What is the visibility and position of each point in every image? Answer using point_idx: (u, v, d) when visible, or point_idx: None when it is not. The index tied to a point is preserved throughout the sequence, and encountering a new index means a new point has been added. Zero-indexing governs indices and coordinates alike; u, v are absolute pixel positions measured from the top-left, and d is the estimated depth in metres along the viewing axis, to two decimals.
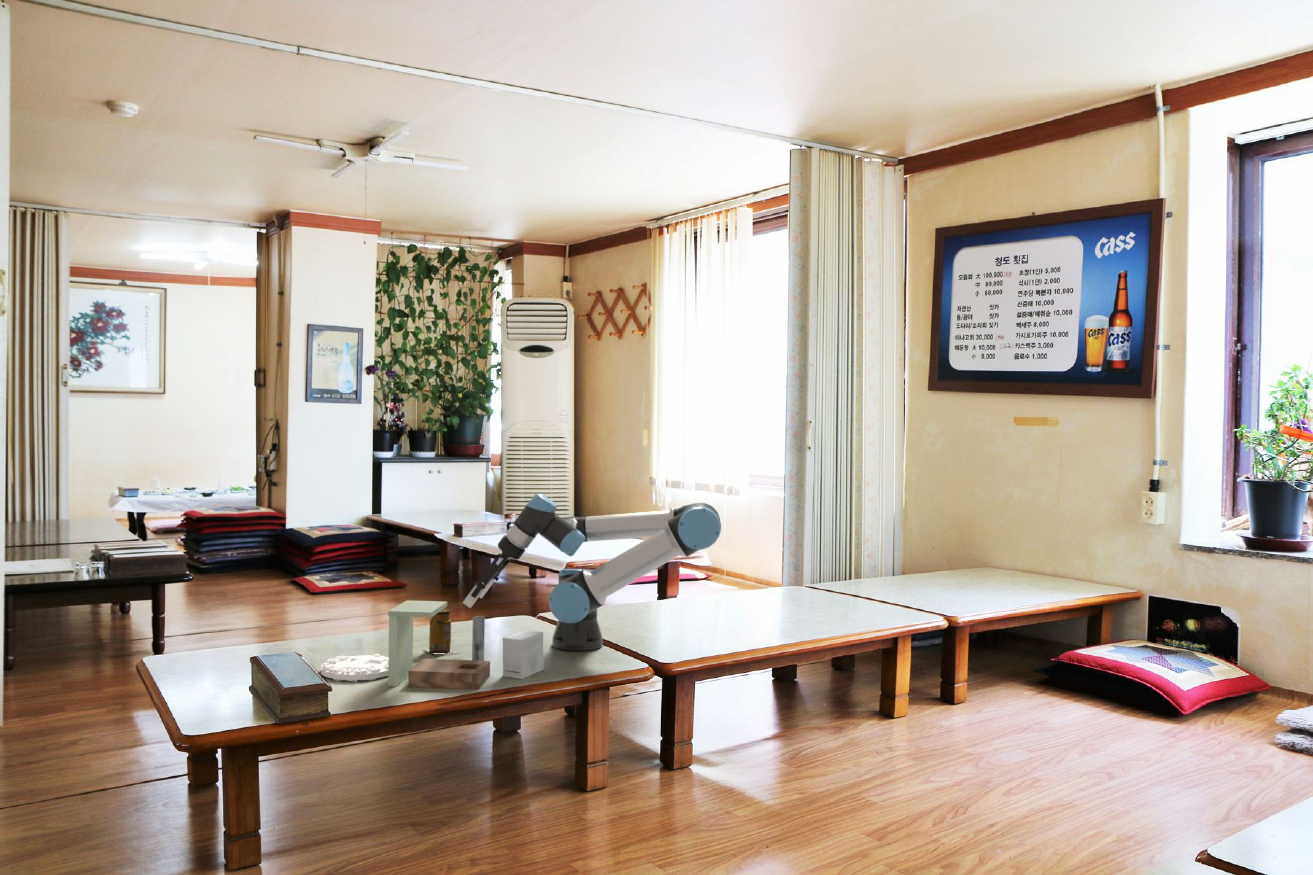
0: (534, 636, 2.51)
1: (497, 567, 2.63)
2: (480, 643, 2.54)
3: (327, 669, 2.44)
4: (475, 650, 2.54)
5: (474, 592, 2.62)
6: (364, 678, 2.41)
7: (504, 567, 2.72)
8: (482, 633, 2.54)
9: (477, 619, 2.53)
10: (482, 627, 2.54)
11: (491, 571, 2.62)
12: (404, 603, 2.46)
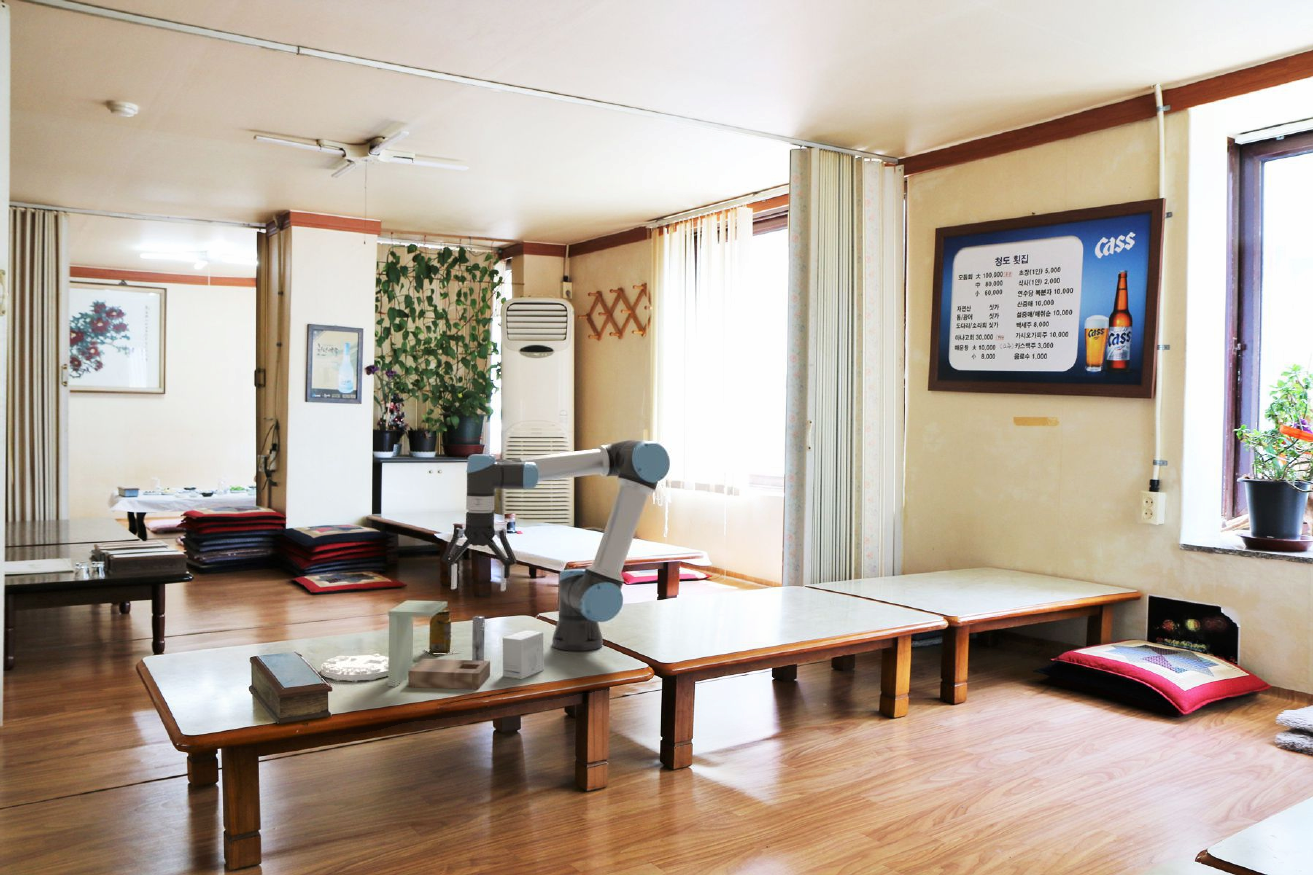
0: (534, 636, 2.51)
1: (506, 538, 2.55)
2: (480, 643, 2.54)
3: (327, 669, 2.44)
4: (475, 650, 2.54)
5: (508, 573, 2.54)
6: (364, 678, 2.41)
7: None
8: (482, 633, 2.54)
9: (477, 619, 2.53)
10: (482, 627, 2.54)
11: (508, 545, 2.54)
12: (404, 603, 2.46)
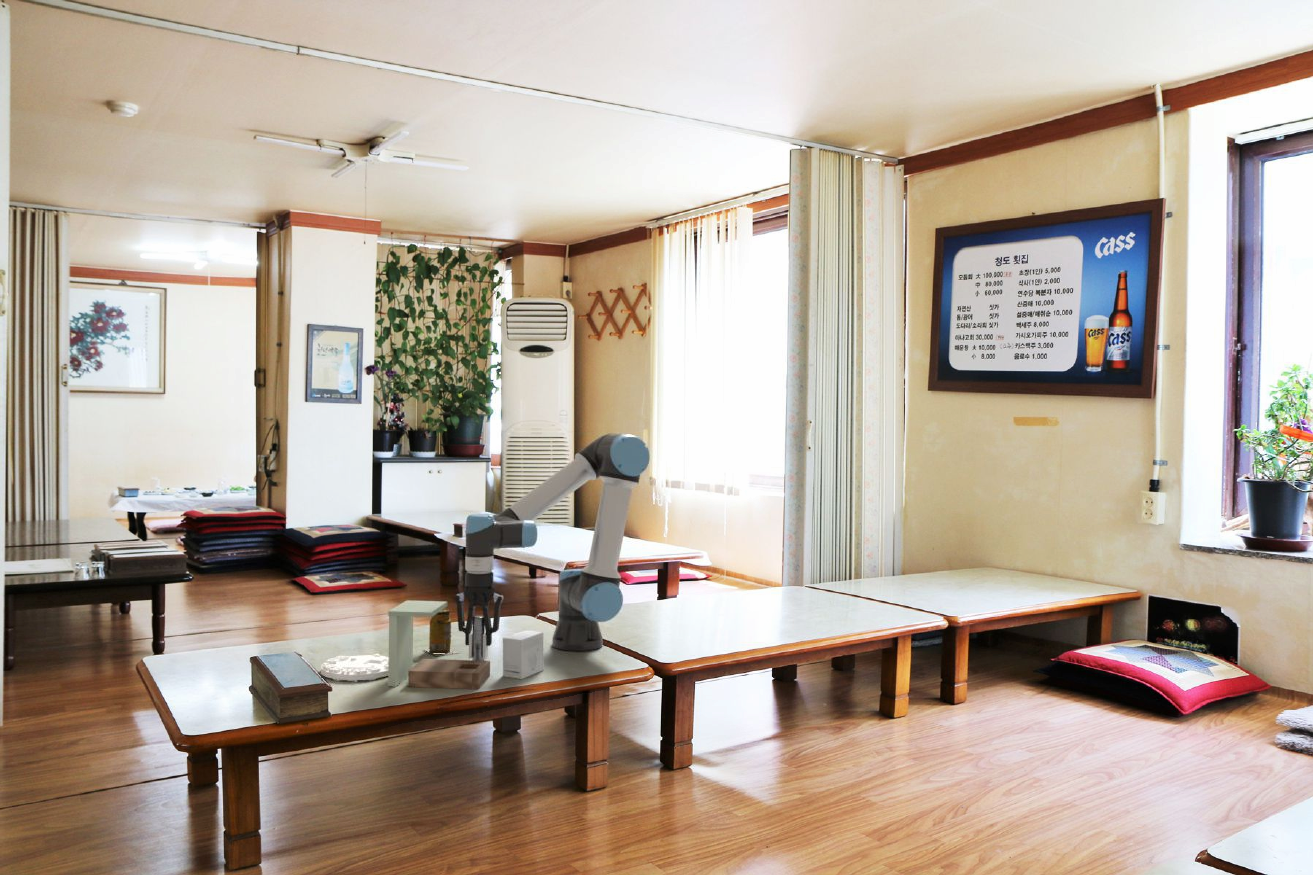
0: (534, 636, 2.51)
1: (500, 605, 2.55)
2: (480, 643, 2.54)
3: (327, 669, 2.44)
4: (475, 650, 2.54)
5: (490, 640, 2.55)
6: (364, 678, 2.41)
7: None
8: (482, 633, 2.54)
9: (477, 619, 2.53)
10: (482, 627, 2.54)
11: (499, 612, 2.55)
12: (404, 603, 2.46)
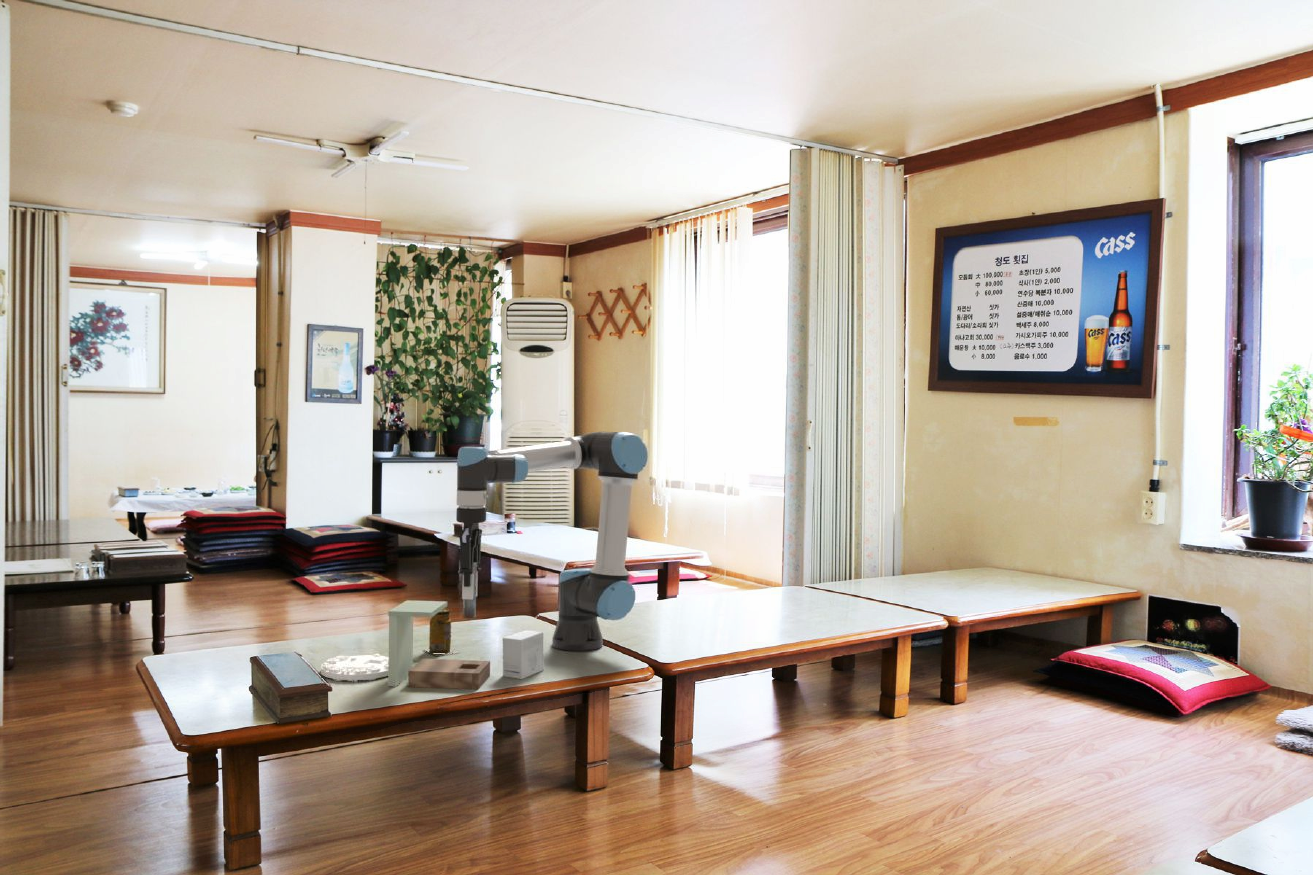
0: (534, 636, 2.51)
1: None
2: None
3: (327, 669, 2.44)
4: (475, 597, 2.42)
5: None
6: (364, 678, 2.41)
7: None
8: None
9: (476, 564, 2.42)
10: None
11: None
12: (404, 603, 2.46)
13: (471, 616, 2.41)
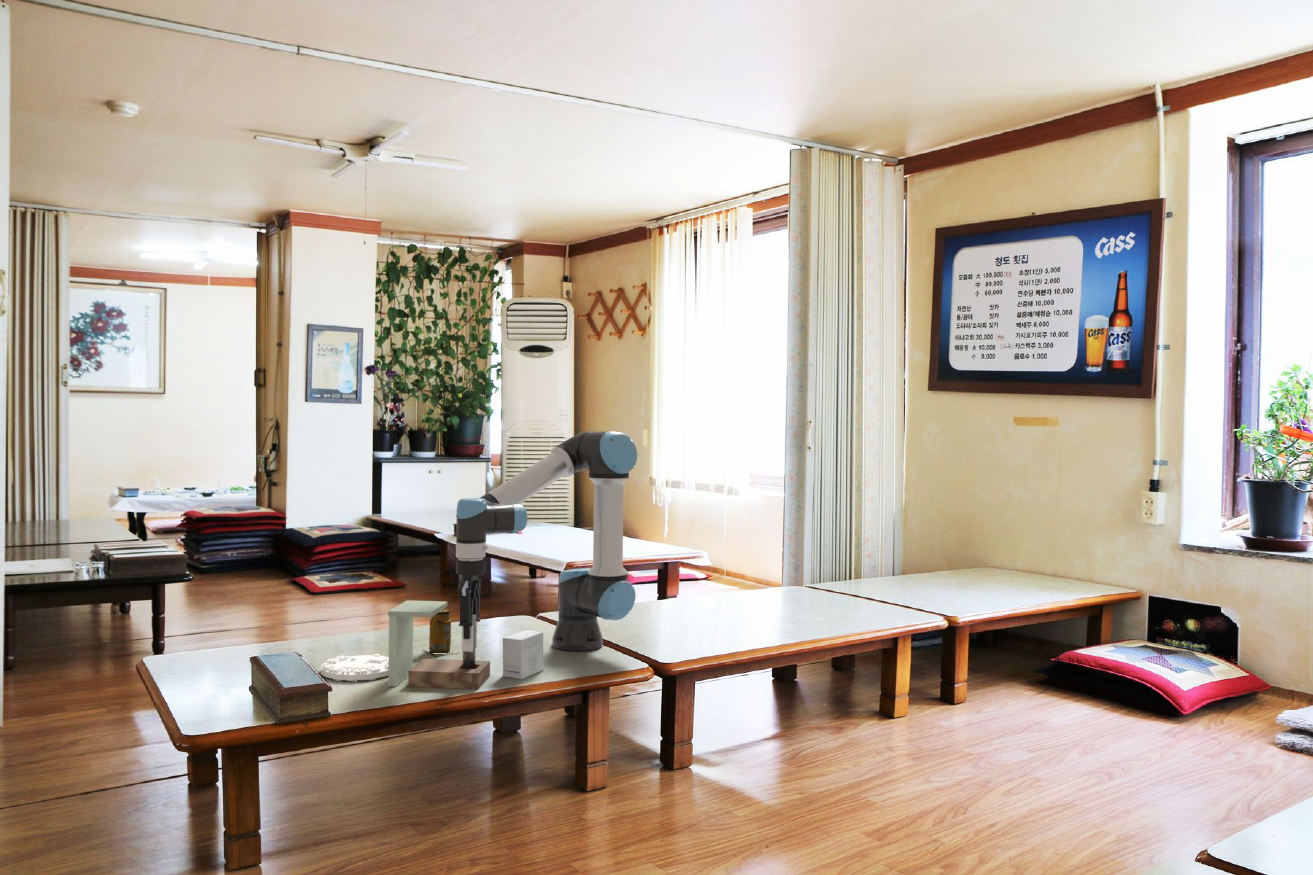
0: (534, 636, 2.51)
1: None
2: None
3: (327, 669, 2.44)
4: (474, 650, 2.41)
5: None
6: (364, 678, 2.41)
7: None
8: None
9: (475, 616, 2.42)
10: None
11: None
12: (404, 603, 2.46)
13: None
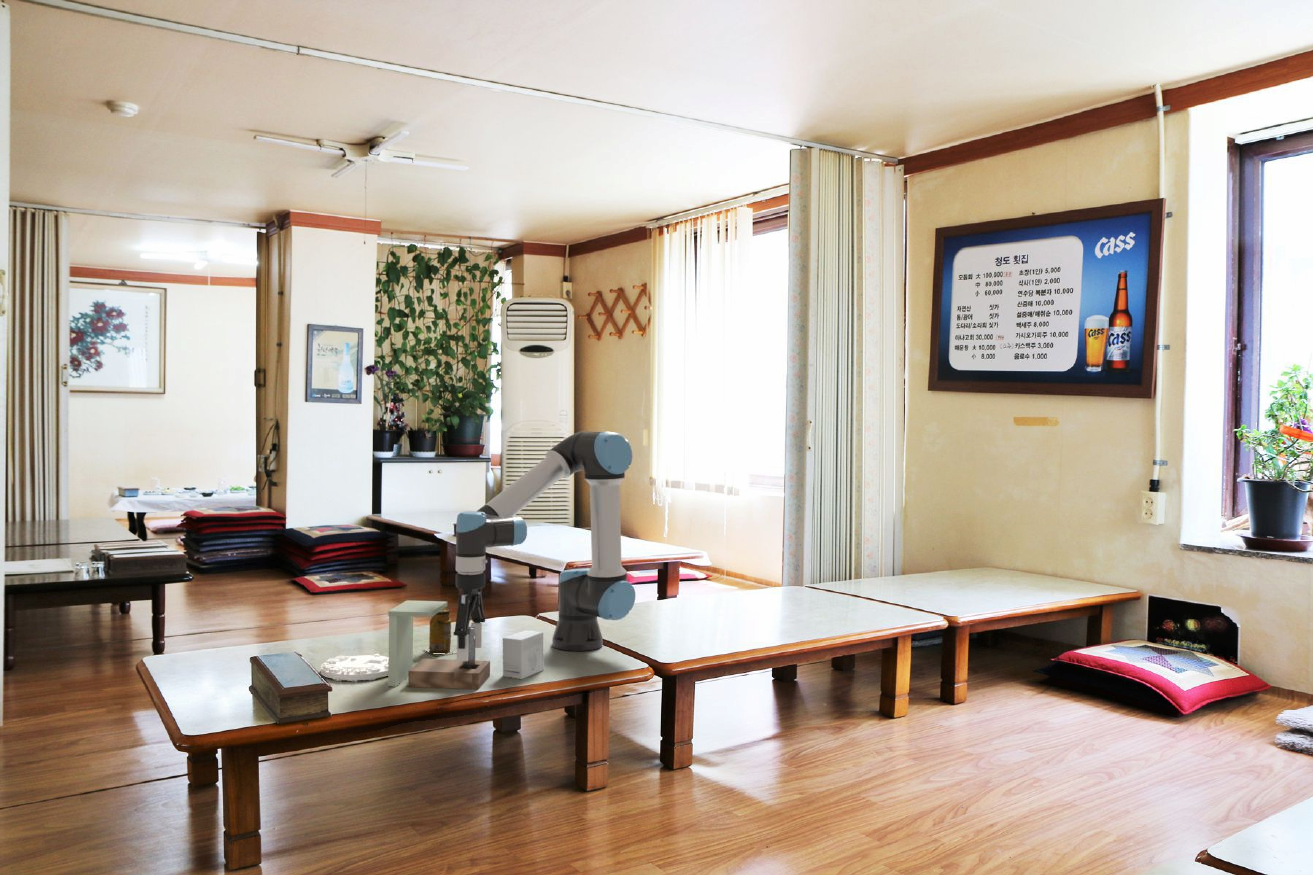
0: (534, 636, 2.51)
1: None
2: None
3: (327, 669, 2.44)
4: (474, 662, 2.42)
5: None
6: (364, 678, 2.41)
7: None
8: None
9: (475, 629, 2.42)
10: None
11: None
12: (404, 603, 2.46)
13: None
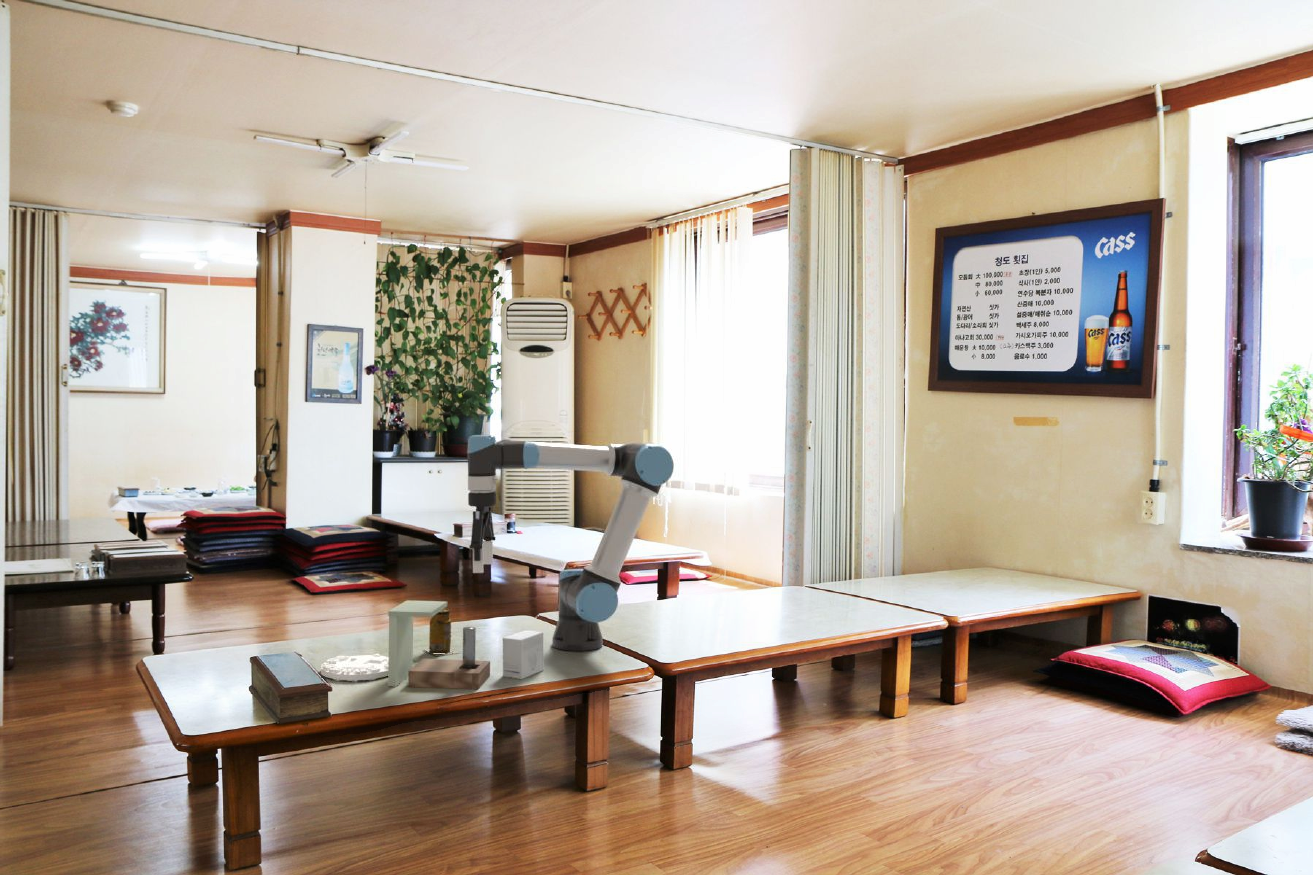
0: (534, 636, 2.51)
1: None
2: None
3: (327, 669, 2.44)
4: (474, 662, 2.42)
5: None
6: (364, 678, 2.41)
7: None
8: None
9: (475, 629, 2.42)
10: None
11: None
12: (404, 603, 2.46)
13: None
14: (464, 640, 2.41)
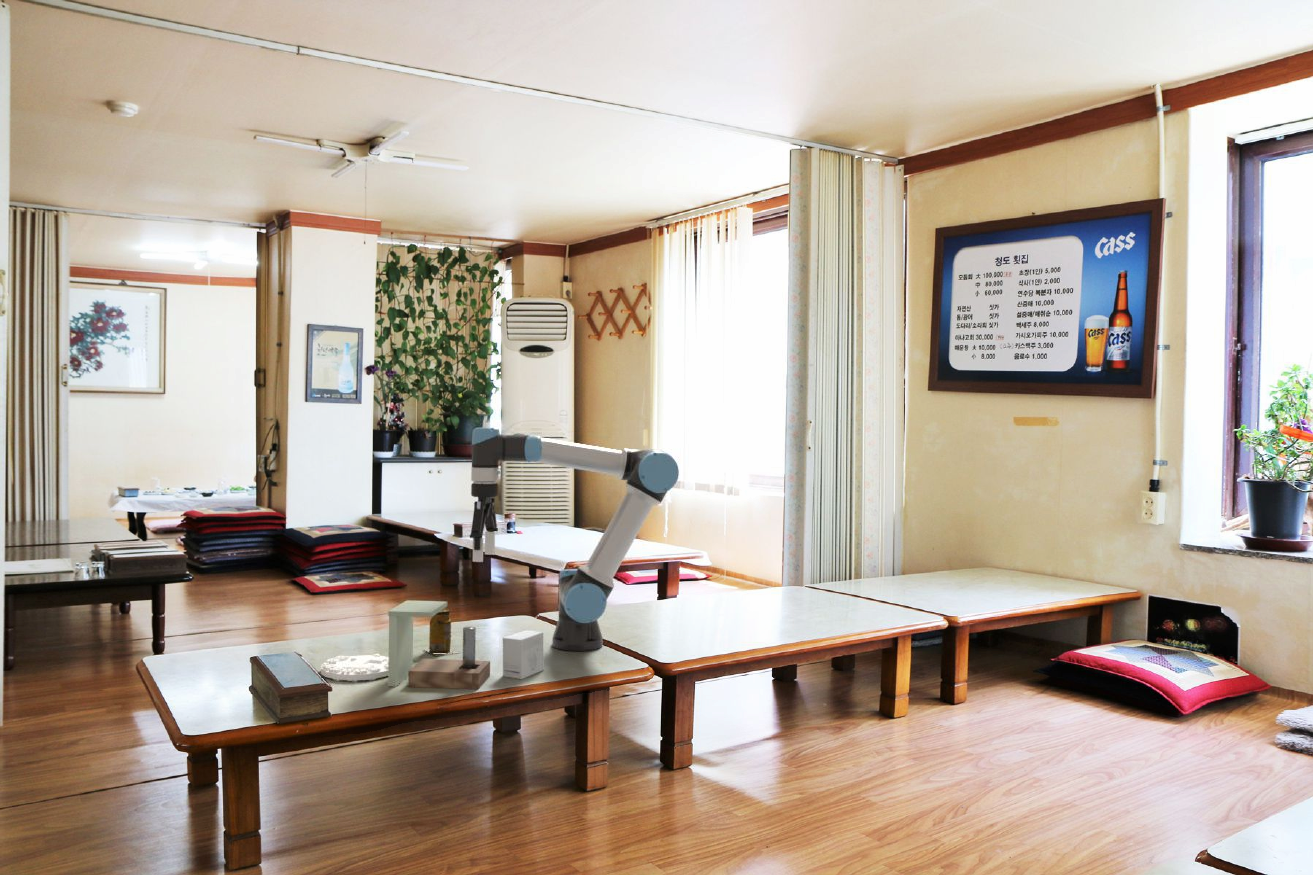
0: (534, 636, 2.51)
1: None
2: None
3: (327, 669, 2.44)
4: (474, 662, 2.42)
5: None
6: (364, 678, 2.41)
7: None
8: None
9: (475, 629, 2.42)
10: None
11: None
12: (404, 603, 2.46)
13: None
14: (464, 640, 2.41)
